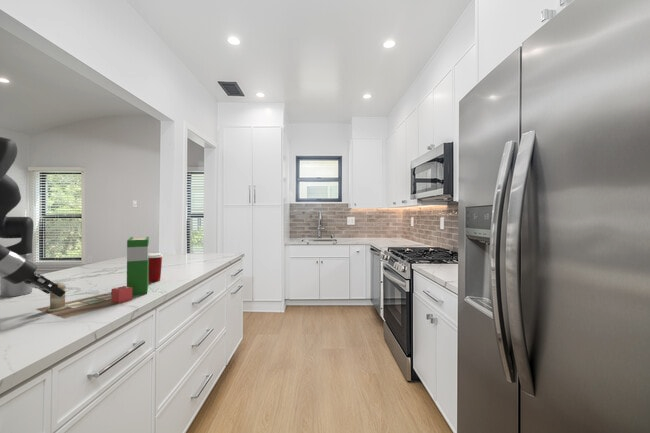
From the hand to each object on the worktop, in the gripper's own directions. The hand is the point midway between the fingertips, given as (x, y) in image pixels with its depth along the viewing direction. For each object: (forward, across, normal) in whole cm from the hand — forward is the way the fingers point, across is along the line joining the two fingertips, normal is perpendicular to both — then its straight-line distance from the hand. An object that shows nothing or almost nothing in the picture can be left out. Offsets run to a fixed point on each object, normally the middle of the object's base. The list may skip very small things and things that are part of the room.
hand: (56, 293), depth 102 cm
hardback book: (+25, 0, -16) cm, 30 cm away
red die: (+16, -9, -8) cm, 20 cm away
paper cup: (+36, +11, -27) cm, 46 cm away
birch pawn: (+4, 0, +4) cm, 6 cm away
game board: (+10, -3, -1) cm, 11 cm away
